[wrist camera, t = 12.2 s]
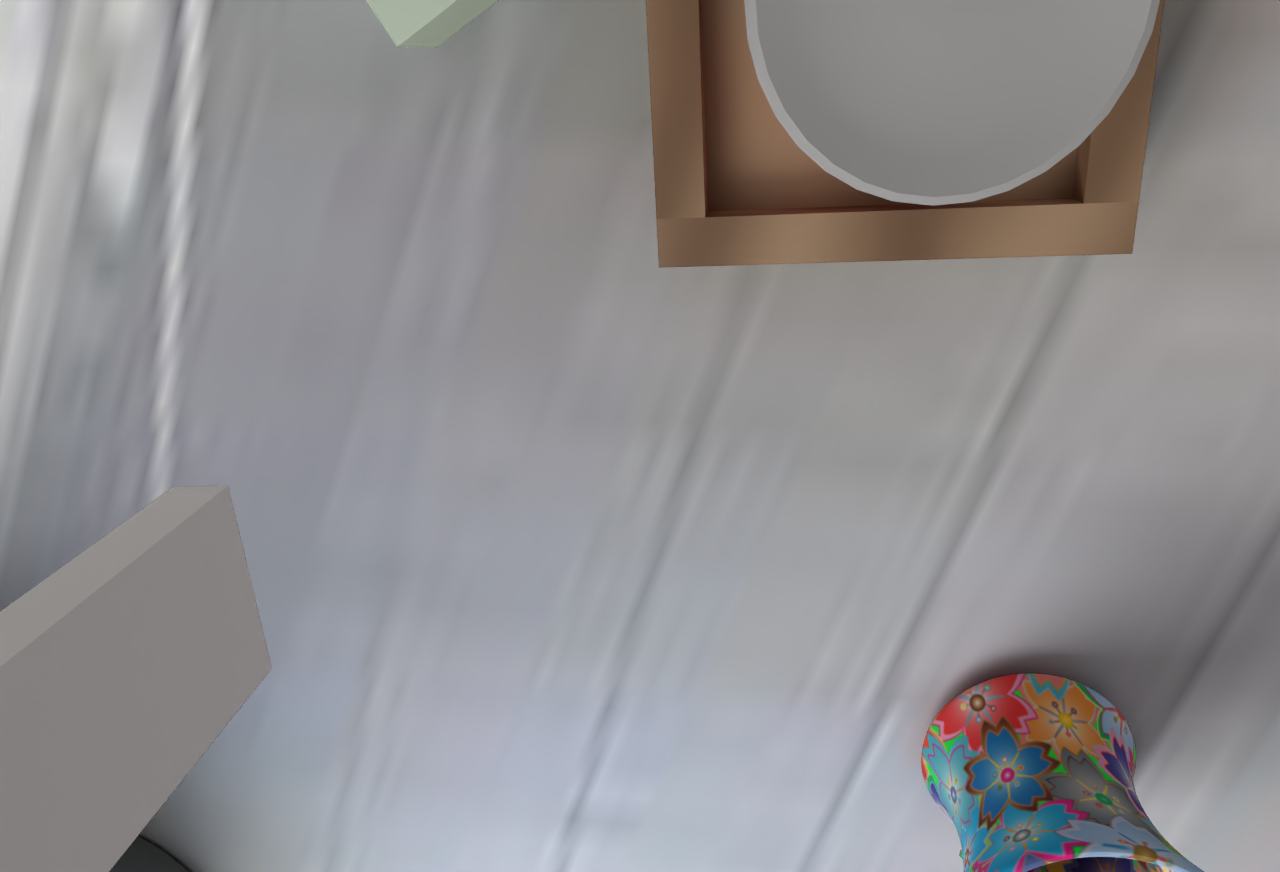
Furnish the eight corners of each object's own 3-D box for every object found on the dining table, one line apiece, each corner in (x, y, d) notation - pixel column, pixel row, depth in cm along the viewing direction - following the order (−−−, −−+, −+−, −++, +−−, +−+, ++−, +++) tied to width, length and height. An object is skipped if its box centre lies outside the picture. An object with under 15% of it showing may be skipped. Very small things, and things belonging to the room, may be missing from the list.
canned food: (963, -205, 26) (1083, -370, 16) (1068, 76, 28) (1232, 90, 18) (707, -51, 28) (668, -109, 18) (822, 199, 30) (845, 273, 20)
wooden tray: (674, 238, 35) (658, 267, 30) (656, -214, 30) (633, -264, 25) (1080, 224, 33) (1132, 253, 29) (1133, -262, 28) (1205, -325, 23)
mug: (1014, 612, 39) (1094, 799, 29) (1187, 736, 40) (1320, 958, 30) (824, 790, 43) (837, 1005, 34) (984, 898, 45) (1042, 1137, 35)
